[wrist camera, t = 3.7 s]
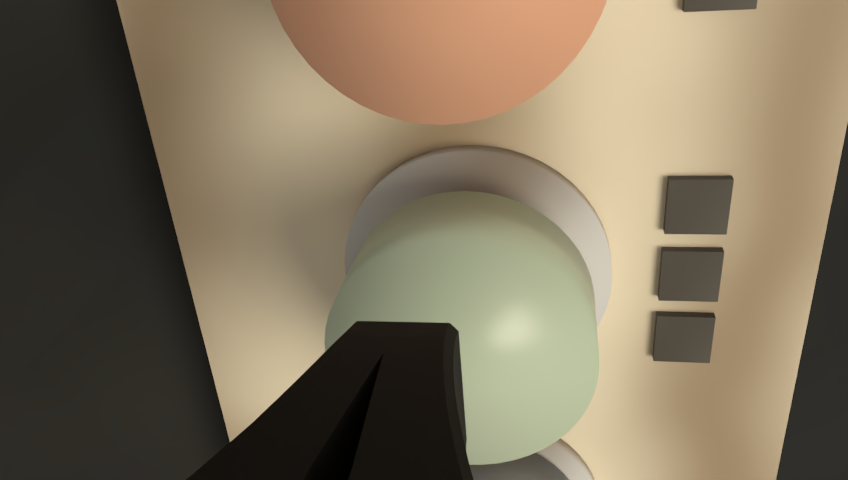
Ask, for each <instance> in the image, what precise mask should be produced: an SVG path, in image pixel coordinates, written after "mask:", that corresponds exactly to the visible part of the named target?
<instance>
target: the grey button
mask: <svg viewBox="0 0 848 480" xmlns="http://www.w3.org/2000/svg"><path fill="white" fill-rule="evenodd" d="M470 469H471V472H472V476H473V480H569V479H568V478H567V477H566V476H565V474H564V473H563V472H561V471H560V470H559V469H558V468H557V467H556V466H555V465H553V464H552V463H550V462H549V461H548V460H546V459H545V458H543V457H541V456H539V455H538V454H536V453H534V454H531V455H529V456H526V457H523V458H520V459H516V460H513V461H508V462H502V463H497V464H485V465H470Z"/></svg>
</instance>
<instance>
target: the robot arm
mask: <svg viewBox="0 0 848 480" xmlns="http://www.w3.org/2000/svg"><path fill="white" fill-rule="evenodd" d="M466 441H467V437H466V423H465V410H464V397H463V383H462V370H461V356H460V343H459V331H458V330H457V329H456V328H455V327H454V326H453V325H451V324H450V323H434V322H385V321H356V322H355V323H354V324H353V325H352V326H351V327H350V328H349V329H348V330H347V331H346V332H345V333H344V334H343V335H342V336H341V337H340V338H338V339H337V340H336V341H335V342H334V343H333V344H332V345H331V346H330V347H329V348H328V349H327V350H326V351H325V352H324V353H323V354H322V355H321V356H320V357H319V358H318V359H317V360H316V361H315V362H314V363H313V365H312V366H310V367H309V368H308V369H307V370H306V371H305V372H304V373H303V374H302V375H301V376H300V377H299V378H298V379H297V380H296V381H295V382H294V383H293V384H292V385H291V386H290V387H289V388H288V389H287V390H286V391H285V392H284V393H283V394H282V395H281V396H280V397H279V398H278V399H277V400H276V401H275V402H274V403H272V404H271V405H270V406H269V407H268V408H267V409H266V410H265V411H264V412H263V413H262V414H261V415H260V416H259V417H258V418H257V419H256V420H255V421H254V422H252V423H251V424H250V425H249V426H248V427H247V428H246V429H245V430H244V431H242V432H241V433H240V434H239V435H238V436H237V437H235V438H234V439H233V440H232V441H231V442H230V443H229V444H227V445H226V446H225V447H224V448H223V449H222V450H220V451H219V452H218V453H217V454H216V455H215V456H214V457H212V458H211V459H210V460H209V461H208V462H207V463H206V464H204V465H203V466H202V467H201V468H200V469H199V470H197V471H196V472H195V473H194V474H193V475H191V476H190V477H189V478H188V479H186V480H473V476H472V472H471V469H470V465H469V461H468V457H467V453H466Z"/></svg>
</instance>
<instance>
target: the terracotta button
mask: <svg viewBox="0 0 848 480" xmlns="http://www.w3.org/2000/svg"><path fill="white" fill-rule="evenodd" d="M606 1H607V0H271V3H272V6H273V8H274V10H275V13H276V15H277V17H278V19H279V21H280V23H281V25H282V27H283V29H284V31H285V32H286V34H287V35H288V37H289V38H290V40H291V42H292V43H293V45H294V46H295V48H296V49H297V50H298V52H299V53H300V54H301V55H302V57H303V58H304V59H305V60H306V62H307V63H308V64H309V65H310V66H311V67H312V68H313V69H314V70H315V71H316V72H317V73H318V74H319V75H320V76H321V77H322V78H323V79H324V80H325V81H326V82H327V83H329V84H330V85H331V86H333V87H334V88H335V89H336V90H338V91H339V92H340V93H342V94H343V95H345V96H346V97H348V98H350V99H351V100H353V101H355V102H356V103H358V104H360V105H361V106H364V107H366V108H368V109H370V110H372V111H375V112H377V113H379V114H382V115H385V116H388V117H392V118H395V119H398V120H402V121H408V122H413V123H419V124H434V125H448V124H460V123H467V122H472V121H476V120H481V119H485V118H488V117H491V116H494V115H497V114H500V113H503V112H505V111H507V110H509V109H511V108H513V107H515V106H517V105H519V104H521V103H523V102H525V101H527V100H528V99H530V98H531V97H533V96H534V95H536V94H537V93H539V92H540V91H542V90H543V89H544V88H545V87H547V86H548V85H549V84H550V83H551V82H552V81H554V80H555V79H556V78H557V77H558V76H559V75H560V74H561V73H562V72H563V71H564V70H565V69H566V68H567V67H568V65H569V64H570V63H571V62H572V61H573V60H574V59H575V58H576V56H577V55H578V54H579V52H580V51H581V49H582V48H583V46H584V45H585V43H586V42H587V40H588V39H589V38H590V36H591V34H592V32H593V30H594V28H595V26H596V24H597V22H598V21H599V19H600V17H601V15H602V12H603V9H604V7H605V4H606Z"/></svg>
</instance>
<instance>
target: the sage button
mask: <svg viewBox="0 0 848 480" xmlns="http://www.w3.org/2000/svg"><path fill="white" fill-rule="evenodd" d="M356 321H385V322H434V323H450V324H451V325H453V326H454V327H455V328H456V329H457V330H458V331H459V343H460V356H461V370H462V383H463V397H464V410H465V423H466V437H467V441H466V453H467V457H468V461H469V465H485V464H497V463H502V462H508V461H513V460H516V459H520V458H523V457H526V456H529V455H531V454H534V453H536V452H538V451H541V450H543V449H544V448H546V447H548V446H550V445H551V444H553V443H555V442H556V441H558V440H559V439H560V438H561V437H563V436H564V435H565V434H566V433H568V432H569V431H570V430H571V429H572V428H573V427H574V426H575V424H576V423H577V422H578V421H579V420H580V418H581V417H582V416H583V414H584V413H585V411H586V410H587V408H588V406H589V404H590V402H591V400H592V398H593V396H594V392H595V389H596V386H597V382H598V374H599V349H598V336H597V323H596V310H595V296H594V289H593V284H592V278H591V275H590V273H589V270H588V267H587V264H586V262H585V261H584V259H583V257H582V255H581V253H580V251H579V250H578V248H577V247H576V246H575V244H574V243H573V242H572V240H571V239H570V238H569V237H568V236H567V235H566V234H565V233H564V232H563V230H562V229H561V228H560V227H559V226H557V225H556V224H555V223H554V222H552V221H551V220H550V219H548V218H547V217H546V216H545V215H543V214H541V213H539V212H538V211H536V210H534V209H533V208H531V207H529V206H527V205H525V204H522V203H520V202H518V201H516V200H513V199H509V198H506V197H503V196H500V195H495V194H489V193H484V192H472V191H456V192H445V193H439V194H434V195H429V196H426V197H423V198H420V199H417V200H414V201H412V202H410V203H408V204H406V205H404V206H402V207H400V208H398V209H397V210H395V211H394V212H392V213H391V214H389V215H388V216H387V217H385V218H384V219H383V220H382V221H381V222H380V223H379V224H378V225H377V226H376V227H375V228H374V229H373V230H372V231H371V233H370V234H369V235H368V236H367V238H366V240H365V241H364V243H363V245H362V246H361V248H360V250H359V252H358V254H357V256H356V258H355V260H354V262H353V264H352V266H351V268H350V270H349V272H348V274H347V276H346V278H345V280H344V282H343V284H342V286H341V288H340V290H339V292H338V294H337V296H336V298H335V300H334V302H333V305H332V307H331V310H330V312H329V315H328V319H327V323H326V328H325V341H324V344H325V351H326V350H327V349H328V348H329V347H330V346H331V345H332V344H333V343H334V342H335V341H336V340H337V339H338V338H340V337H341V336H342V335H343V334H344V333H345V332H346V331H347V330H348V329H349V328H350V327H351V326H352V325H353V324H354V323H355V322H356Z"/></svg>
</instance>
